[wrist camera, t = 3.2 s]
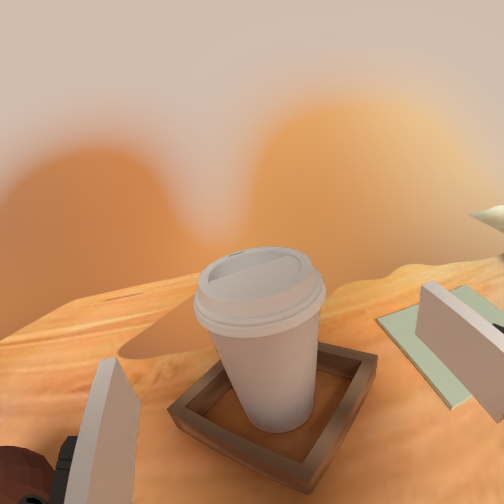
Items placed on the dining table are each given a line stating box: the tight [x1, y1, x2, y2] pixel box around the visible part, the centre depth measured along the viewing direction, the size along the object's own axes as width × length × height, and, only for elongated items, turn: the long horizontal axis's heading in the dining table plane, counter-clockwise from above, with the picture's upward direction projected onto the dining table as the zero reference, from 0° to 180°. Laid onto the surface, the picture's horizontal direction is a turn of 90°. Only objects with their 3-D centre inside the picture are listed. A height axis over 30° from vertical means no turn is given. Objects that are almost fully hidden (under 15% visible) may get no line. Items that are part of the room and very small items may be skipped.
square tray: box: [167, 342, 378, 495], centre depth 27 cm, size 14×14×3 cm
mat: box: [377, 285, 504, 410], centre depth 29 cm, size 16×16×1 cm
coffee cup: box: [194, 246, 326, 433], centre depth 24 cm, size 10×10×15 cm
